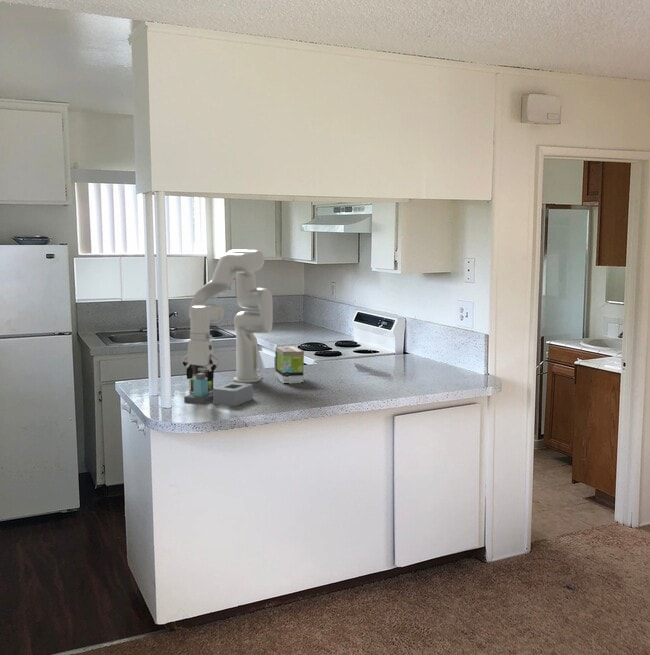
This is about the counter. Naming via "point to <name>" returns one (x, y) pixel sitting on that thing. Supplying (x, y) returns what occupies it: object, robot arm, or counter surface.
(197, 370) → the coffee can
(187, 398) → the holster
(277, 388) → the counter surface
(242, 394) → the port
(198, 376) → the plug
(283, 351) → the tea box
